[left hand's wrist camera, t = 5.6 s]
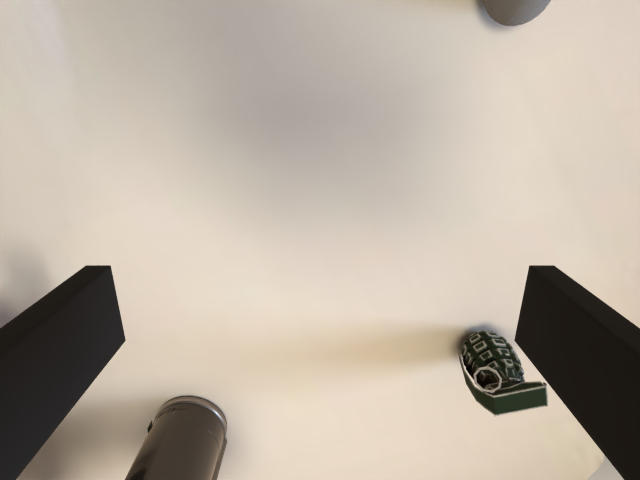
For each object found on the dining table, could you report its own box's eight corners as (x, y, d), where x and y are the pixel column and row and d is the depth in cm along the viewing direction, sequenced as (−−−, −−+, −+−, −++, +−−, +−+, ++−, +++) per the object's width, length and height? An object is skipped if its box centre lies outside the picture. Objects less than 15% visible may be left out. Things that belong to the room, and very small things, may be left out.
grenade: (502, 317, 47) (546, 372, 38) (506, 356, 49) (550, 417, 40) (447, 329, 48) (478, 386, 39) (453, 367, 50) (484, 430, 41)
